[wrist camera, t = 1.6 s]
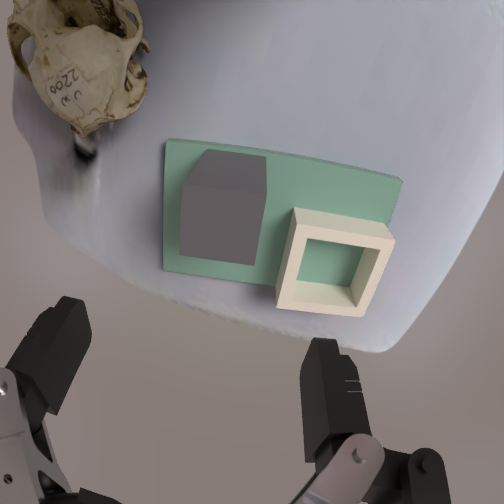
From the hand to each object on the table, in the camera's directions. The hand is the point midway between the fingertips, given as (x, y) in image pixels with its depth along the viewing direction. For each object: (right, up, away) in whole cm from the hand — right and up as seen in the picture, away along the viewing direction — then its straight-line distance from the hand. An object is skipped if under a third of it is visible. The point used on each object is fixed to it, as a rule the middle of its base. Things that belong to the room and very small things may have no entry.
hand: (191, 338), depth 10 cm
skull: (-10, +20, +8) cm, 24 cm away
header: (+9, +3, +17) cm, 19 cm away
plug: (+1, +8, +14) cm, 16 cm away
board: (+4, +5, +16) cm, 18 cm away
